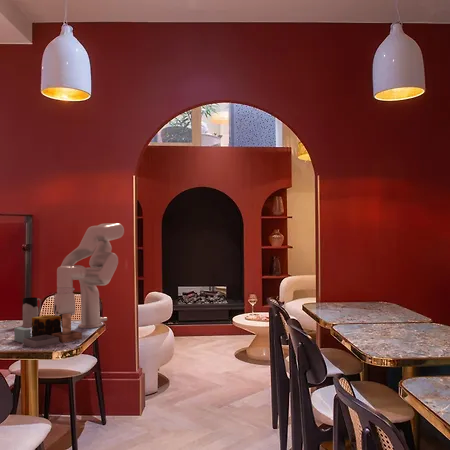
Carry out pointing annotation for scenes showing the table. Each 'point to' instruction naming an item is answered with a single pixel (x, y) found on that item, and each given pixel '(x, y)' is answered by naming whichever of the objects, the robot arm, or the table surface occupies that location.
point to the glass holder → (30, 310)
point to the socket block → (68, 336)
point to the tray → (41, 341)
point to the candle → (46, 325)
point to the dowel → (66, 324)
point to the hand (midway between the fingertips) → (64, 327)
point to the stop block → (21, 334)
